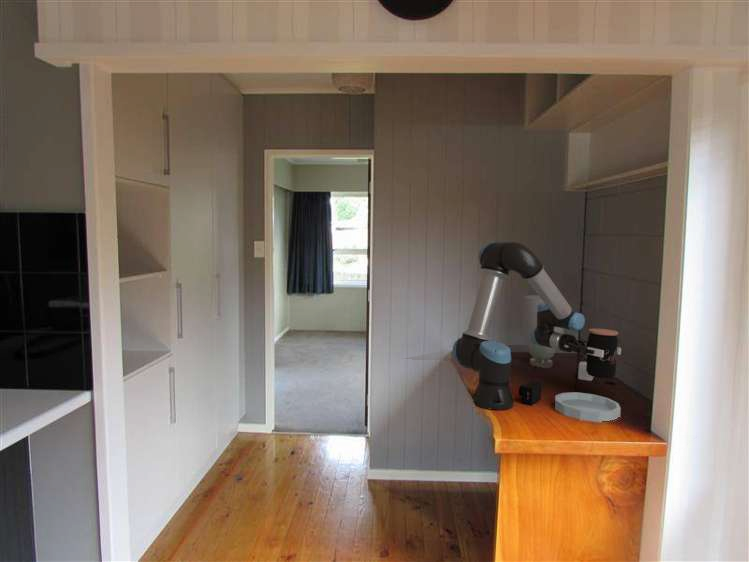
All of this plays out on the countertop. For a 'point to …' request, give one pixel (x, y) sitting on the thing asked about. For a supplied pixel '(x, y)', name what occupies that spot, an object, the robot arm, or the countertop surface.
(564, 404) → the bowl
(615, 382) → the countertop surface
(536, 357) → the lamp
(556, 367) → the countertop surface
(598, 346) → the coffee jar
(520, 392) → the digital camera
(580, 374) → the skincare box
